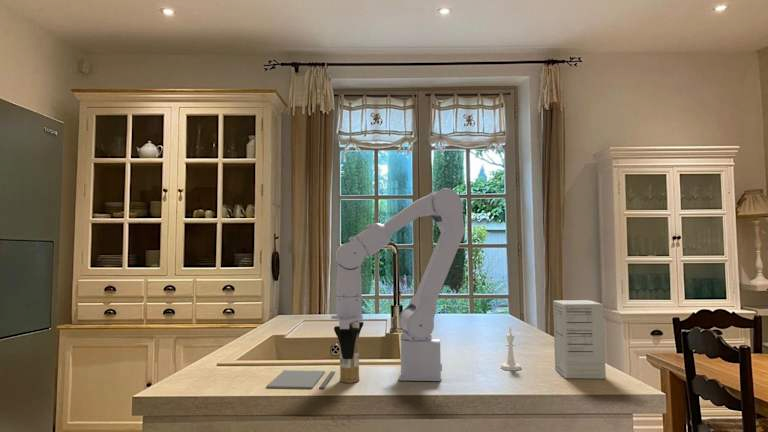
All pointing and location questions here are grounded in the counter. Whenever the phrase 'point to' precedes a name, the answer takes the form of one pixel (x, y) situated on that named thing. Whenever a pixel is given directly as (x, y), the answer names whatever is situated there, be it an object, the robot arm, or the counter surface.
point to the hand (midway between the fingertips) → (349, 356)
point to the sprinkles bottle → (350, 362)
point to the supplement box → (579, 339)
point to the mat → (296, 379)
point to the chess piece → (510, 354)
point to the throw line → (327, 380)
